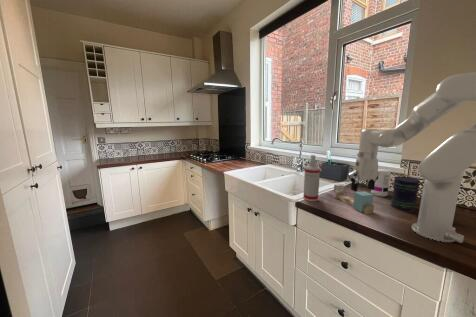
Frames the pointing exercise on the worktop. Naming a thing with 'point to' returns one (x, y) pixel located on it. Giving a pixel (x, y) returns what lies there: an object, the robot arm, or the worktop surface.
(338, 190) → the rail
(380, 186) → the supplement can
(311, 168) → the spray bottle
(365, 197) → the block
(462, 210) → the worktop surface
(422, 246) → the worktop surface
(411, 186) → the storage jar
